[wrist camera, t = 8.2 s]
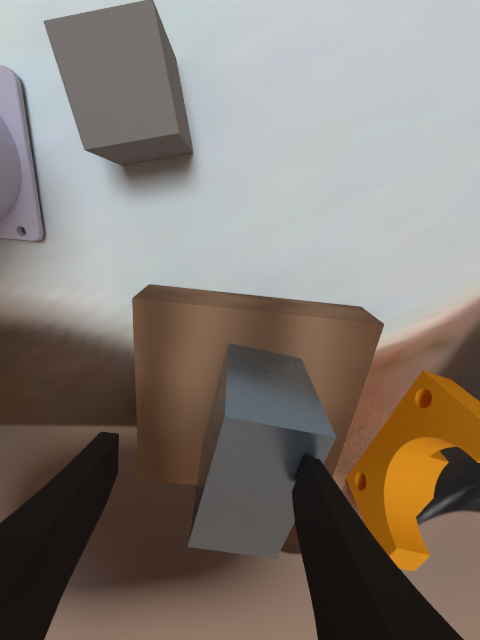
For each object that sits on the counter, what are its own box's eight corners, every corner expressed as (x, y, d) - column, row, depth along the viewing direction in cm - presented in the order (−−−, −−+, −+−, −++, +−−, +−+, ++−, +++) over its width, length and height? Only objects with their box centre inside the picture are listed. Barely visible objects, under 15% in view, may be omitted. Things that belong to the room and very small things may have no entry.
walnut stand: (151, 447, 22) (139, 481, 20) (149, 284, 17) (132, 298, 14) (315, 459, 23) (326, 493, 20) (361, 306, 18) (384, 324, 15)
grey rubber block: (122, 165, 15) (84, 149, 11) (97, 74, 13) (43, 21, 10) (193, 153, 15) (179, 133, 11) (176, 59, 13) (152, -2, 9)
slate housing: (199, 457, 19) (183, 561, 13) (228, 342, 15) (224, 416, 10) (259, 467, 19) (269, 572, 14) (301, 358, 16) (336, 437, 10)
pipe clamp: (386, 487, 25) (435, 575, 19) (345, 477, 24) (381, 564, 18) (469, 385, 21) (565, 456, 15) (421, 369, 20) (501, 436, 14)
